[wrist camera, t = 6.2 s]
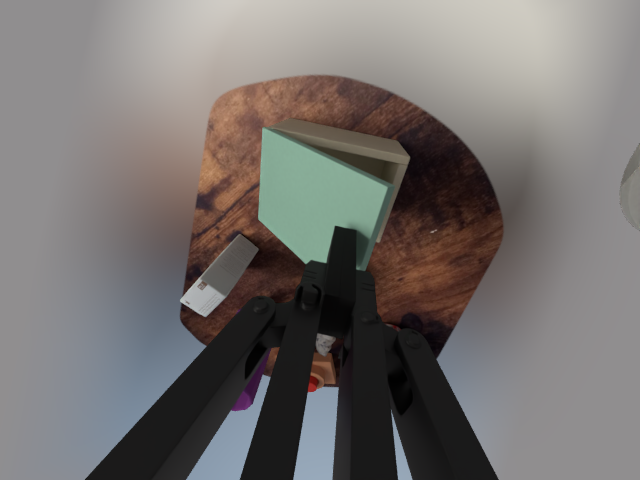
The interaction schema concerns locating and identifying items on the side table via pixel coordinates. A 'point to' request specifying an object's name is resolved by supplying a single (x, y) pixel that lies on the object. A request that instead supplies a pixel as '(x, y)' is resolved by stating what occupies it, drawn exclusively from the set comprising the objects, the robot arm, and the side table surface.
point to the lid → (317, 198)
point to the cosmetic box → (220, 276)
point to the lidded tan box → (353, 152)
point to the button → (312, 384)
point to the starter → (323, 369)
